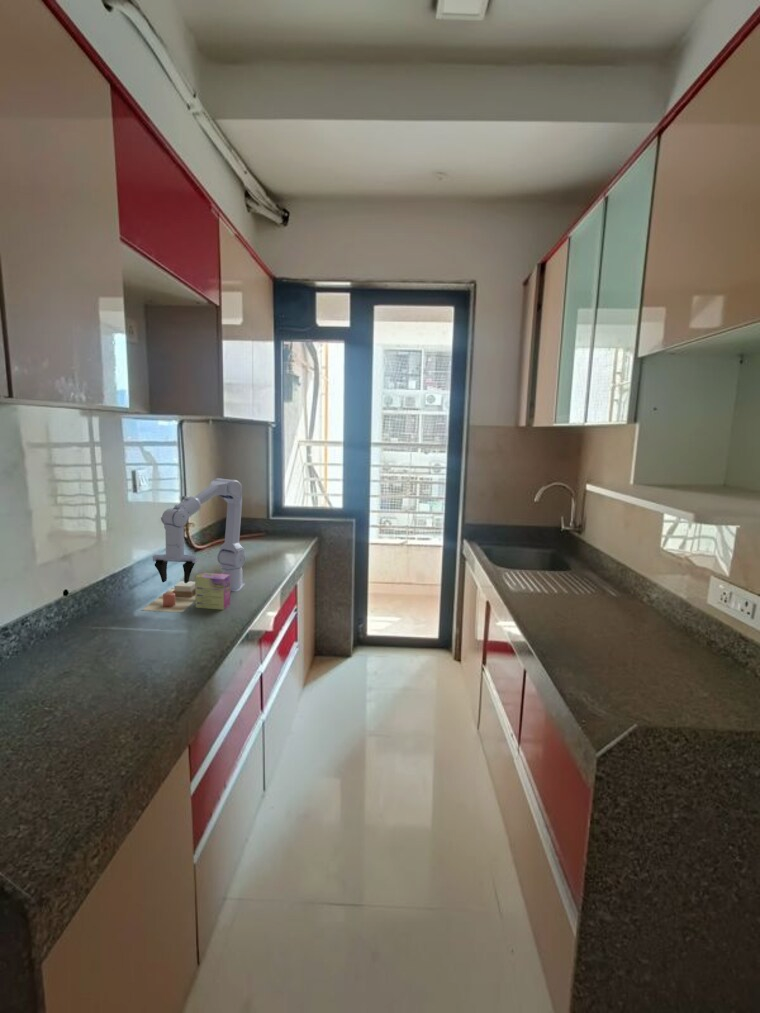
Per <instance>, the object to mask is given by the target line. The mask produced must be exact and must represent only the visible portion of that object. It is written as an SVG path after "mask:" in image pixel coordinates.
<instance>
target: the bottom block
mask: <svg viewBox="0 0 760 1013" xmlns="http://www.w3.org/2000/svg"><path fill="white" fill-rule="evenodd" d="M173 593H175V597H193V596H194V595H195V589H194V590H192V591H191V592H184V591H175V590H174V591H173Z"/></svg>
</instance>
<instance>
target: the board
mask: <svg viewBox="0 0 760 1013" xmlns="http://www.w3.org/2000/svg"><path fill="white" fill-rule="evenodd" d="M173 591H174V587H171V588H170V589H167V591H165V593H168V592H173ZM195 599H196V597H195V595H194V596H193V597H175V602H176V605H175V606H172V607H164V606H163V594H161V595H160V596H159V597H157V598H156V599H155V600H153V601H152V602H151V603H149V604H148V605H146V606H145V607H143V608H142V609H141V610H140V611H142V612H144V611H145V612H165V613H167V612H169V613H183V612H185V611H186V610H187V609H188V608H190V606H191V605H192V604H193V603H194V602H196V600H195Z"/></svg>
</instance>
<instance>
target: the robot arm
mask: <svg viewBox="0 0 760 1013" xmlns="http://www.w3.org/2000/svg"><path fill="white" fill-rule="evenodd" d="M215 496H218V497H221V498H222V499H223V501H225V502H226V503H227V507H226V520H225V533H224V542H223V543H222V544H221V545H220V546H219V551H218V553H217V562H218V564H220V565H219V566H220V568H221V574H227V575H230V592H238V591H240V590H241V589H242V588H243V586H244V585H246V583H245V582H244V583H243V580H244V579H243V578H244V577H243V574H244V572H243V571H244V569H243V566H244V564H245V562H246V555H245V548H244V547H243V545H241V543H240V537H241V535H240V534H241V524H242V521H241V520H242V509H243V484H242V483H241V482H240V481H239V480H236V479H226V478H220V477H217V478H215V479H214V480H212V481H210V483H209V485H208V486H207V487H205V488H204V489H203V490H201V492H199V493H198V494H197V495H195V496H186V497H185V498H184V500H182V501H181V502H179V503H178V504H175V505H174V507H172V508H167V509H166V510H164V511H163V513H162V515H161V517H160V520H161V522H162V524H163V527H164V531H165V532H164V533H165V534H164V535H165V554H153V555H152V562H154V566H155V568H156V569H157V572H158V573H159V576H160V579H161V582H162V583H165V582H167V579H168V577H167V575H168V574H167V571H168V570H167V569H168V562H172V563H173V562H175V563H176V562H177V563H181V562H182V563H183V564H182V568H183V569H182V570H183V575H184V576H183V581H184V583H188V582H189V581H190V576H191V573H192V572H193V568H194V566H195V565H196V563H197V562H198V556H197V555H188V554H185V543H184V542H185V541H184V540H185V539H184V538H185V537H184V536H185V534H184V533H185V532H184V530H185V529H184V528H185V526H186V524H187V523H188V520H189V518H191V517H192V516H193V515H194V514H196V513H198V511H200V510H201V507H202V505H203V504H204V503H206V502H208V501H210V500H211V499H213V498H214V497H215Z"/></svg>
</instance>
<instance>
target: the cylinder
mask: <svg viewBox="0 0 760 1013" xmlns="http://www.w3.org/2000/svg"><path fill="white" fill-rule="evenodd" d="M162 595H163V606H164V607H172V606H175V605H176V602H175V593H173V592H168V593H166V592H164V593H163V594H162Z"/></svg>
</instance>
